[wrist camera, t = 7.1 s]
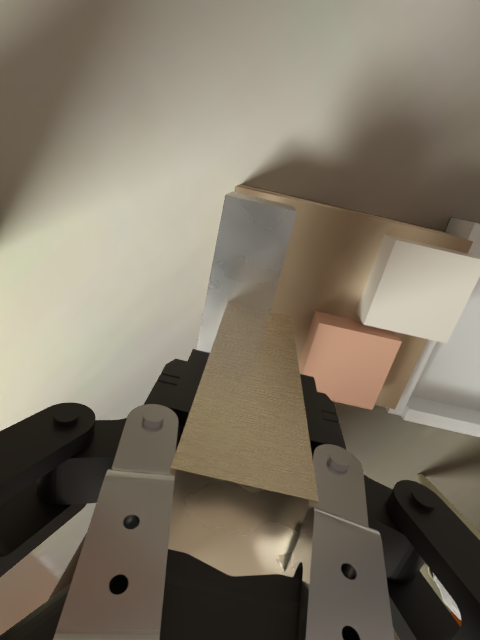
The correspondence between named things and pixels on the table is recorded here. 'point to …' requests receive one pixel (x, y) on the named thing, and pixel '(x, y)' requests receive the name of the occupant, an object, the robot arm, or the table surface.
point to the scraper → (245, 408)
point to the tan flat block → (343, 272)
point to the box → (449, 365)
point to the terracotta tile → (348, 358)
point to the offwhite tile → (418, 288)
